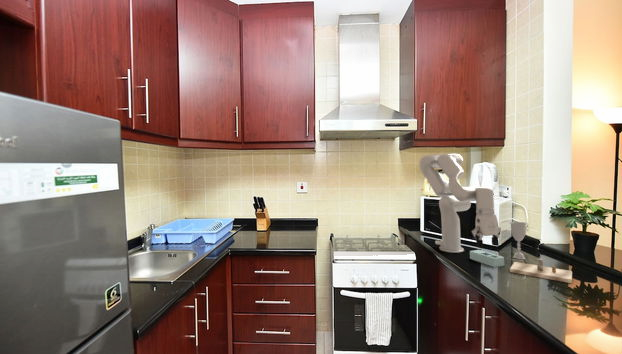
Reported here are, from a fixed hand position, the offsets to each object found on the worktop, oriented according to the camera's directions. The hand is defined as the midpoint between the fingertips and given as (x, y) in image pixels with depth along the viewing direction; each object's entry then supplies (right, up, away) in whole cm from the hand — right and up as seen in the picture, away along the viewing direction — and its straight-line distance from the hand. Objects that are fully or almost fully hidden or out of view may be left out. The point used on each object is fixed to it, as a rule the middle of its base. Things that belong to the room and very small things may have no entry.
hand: (487, 246), depth 136 cm
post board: (+13, -8, -16) cm, 22 cm away
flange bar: (0, -8, +1) cm, 8 cm away
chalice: (+20, -7, +6) cm, 22 cm away
